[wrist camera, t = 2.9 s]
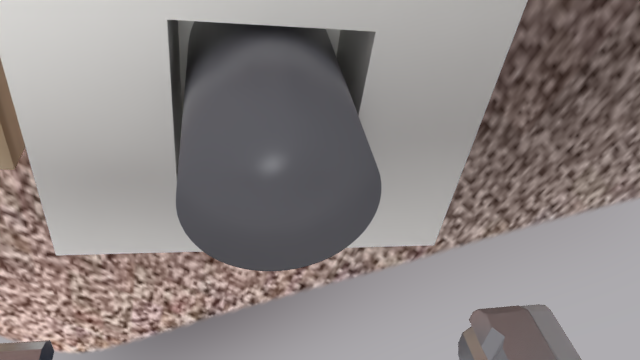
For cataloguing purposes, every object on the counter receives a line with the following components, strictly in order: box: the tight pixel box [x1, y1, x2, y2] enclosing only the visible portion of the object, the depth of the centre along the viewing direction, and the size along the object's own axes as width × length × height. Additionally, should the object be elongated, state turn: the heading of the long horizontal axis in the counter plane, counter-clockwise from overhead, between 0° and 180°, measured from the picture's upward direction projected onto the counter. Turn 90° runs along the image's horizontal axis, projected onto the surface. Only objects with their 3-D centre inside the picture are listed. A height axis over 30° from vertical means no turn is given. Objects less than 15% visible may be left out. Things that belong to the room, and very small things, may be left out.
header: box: [0, 0, 528, 255], centre depth 18 cm, size 14×12×5 cm
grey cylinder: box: [176, 21, 381, 271], centre depth 16 cm, size 5×5×8 cm
